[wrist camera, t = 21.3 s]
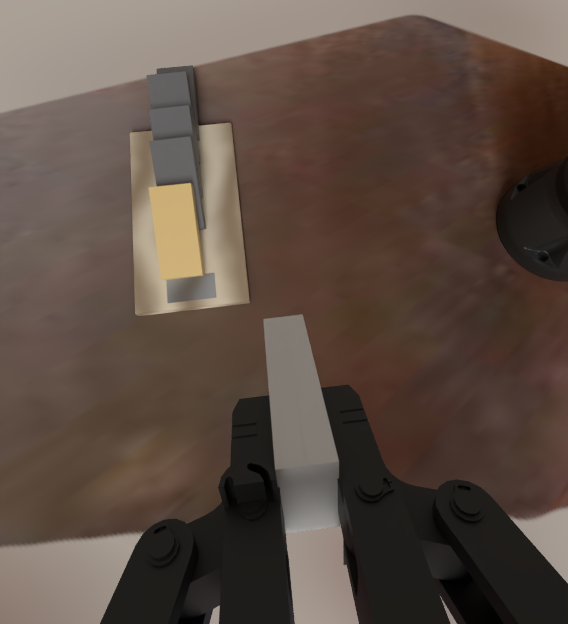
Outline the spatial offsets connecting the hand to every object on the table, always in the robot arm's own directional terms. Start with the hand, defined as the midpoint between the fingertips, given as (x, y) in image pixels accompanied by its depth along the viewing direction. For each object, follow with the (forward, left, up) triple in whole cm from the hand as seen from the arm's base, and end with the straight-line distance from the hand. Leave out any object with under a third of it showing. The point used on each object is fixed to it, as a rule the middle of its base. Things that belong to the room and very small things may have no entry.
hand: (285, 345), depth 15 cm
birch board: (+10, -24, -31) cm, 40 cm away
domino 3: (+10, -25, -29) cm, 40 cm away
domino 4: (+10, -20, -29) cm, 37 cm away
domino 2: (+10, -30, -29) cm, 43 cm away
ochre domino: (+11, -14, -29) cm, 34 cm away
